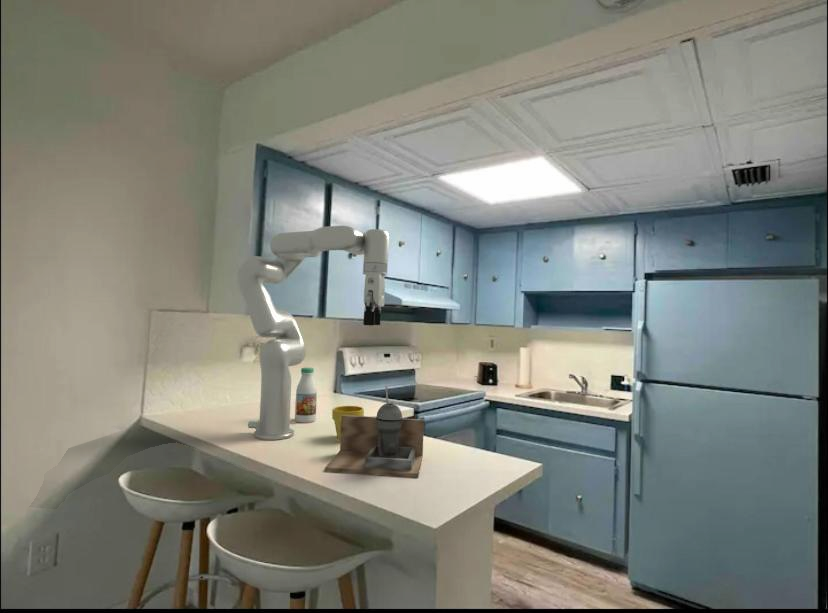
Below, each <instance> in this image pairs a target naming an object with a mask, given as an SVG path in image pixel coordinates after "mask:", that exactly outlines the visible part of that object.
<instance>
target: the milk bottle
mask: <svg viewBox="0 0 828 613" xmlns="http://www.w3.org/2000/svg"><path fill="white" fill-rule="evenodd" d="M300 372H301V373H300V374H301V377H300V379H299V383H297V386H296V392H295V406H294V421H295V422H296V423H299V424H301V423H302V424H308V423H309V424H310V423H313V422H315V421H316V420H317V418H316V417H317V397H318V396H317V394H318V392H317V391H318V390H317V386H316V383H315V380H314V376H313V375H314V368H313V367H301V368H300Z"/></svg>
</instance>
